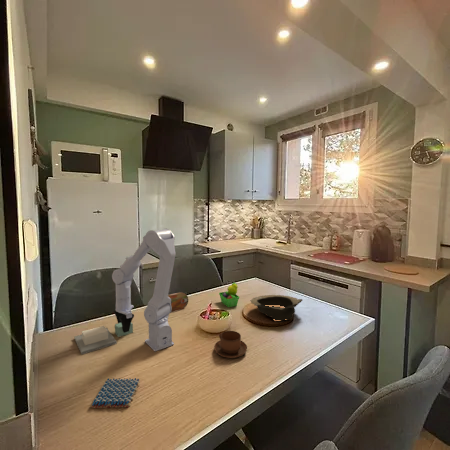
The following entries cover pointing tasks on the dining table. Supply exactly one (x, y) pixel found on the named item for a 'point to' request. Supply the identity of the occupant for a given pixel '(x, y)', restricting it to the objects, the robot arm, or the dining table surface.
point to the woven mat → (116, 393)
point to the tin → (178, 301)
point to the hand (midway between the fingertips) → (123, 329)
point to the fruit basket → (230, 296)
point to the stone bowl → (273, 311)
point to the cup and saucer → (230, 345)
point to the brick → (119, 329)
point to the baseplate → (95, 345)
